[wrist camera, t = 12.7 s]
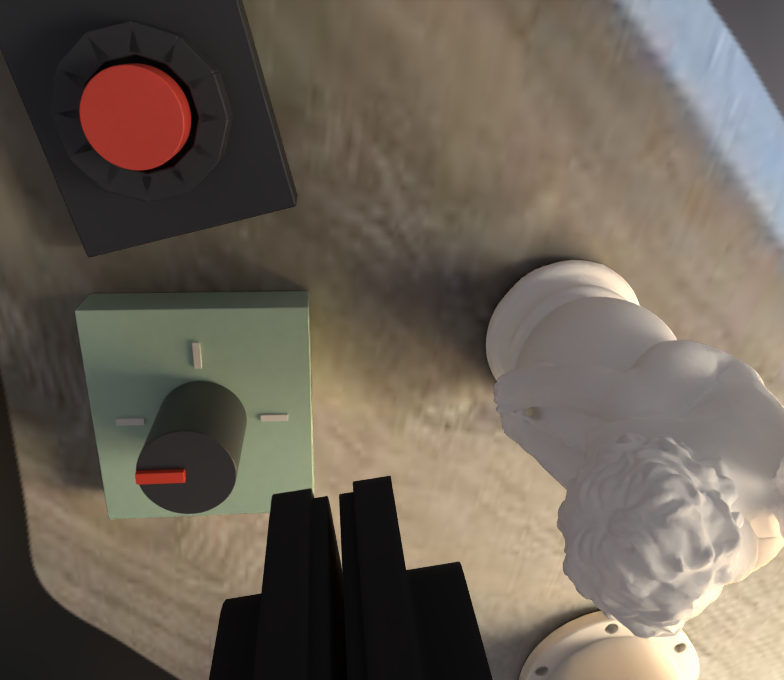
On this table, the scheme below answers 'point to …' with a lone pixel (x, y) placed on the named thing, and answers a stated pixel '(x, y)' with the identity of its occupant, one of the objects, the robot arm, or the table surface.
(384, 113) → the table surface
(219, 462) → the dial
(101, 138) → the button
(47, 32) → the button box
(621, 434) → the cherub figurine
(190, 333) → the console
